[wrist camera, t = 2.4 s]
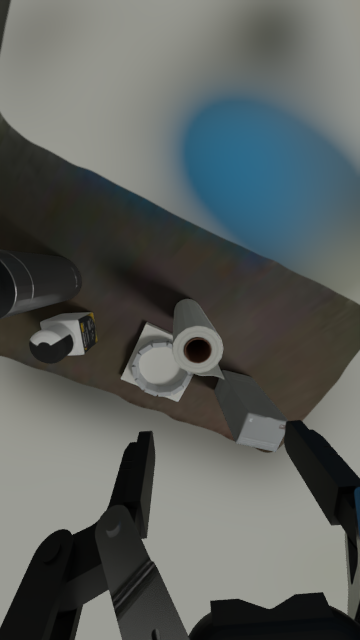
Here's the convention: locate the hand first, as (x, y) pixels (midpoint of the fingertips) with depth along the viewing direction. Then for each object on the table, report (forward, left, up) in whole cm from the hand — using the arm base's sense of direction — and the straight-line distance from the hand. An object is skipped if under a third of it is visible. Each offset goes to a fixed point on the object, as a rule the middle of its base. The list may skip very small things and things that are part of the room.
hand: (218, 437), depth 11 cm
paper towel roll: (0, 0, -33) cm, 33 cm away
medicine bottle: (-24, -1, -33) cm, 41 cm away
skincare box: (+11, -18, -33) cm, 39 cm away
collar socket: (-6, -11, -32) cm, 35 cm away
